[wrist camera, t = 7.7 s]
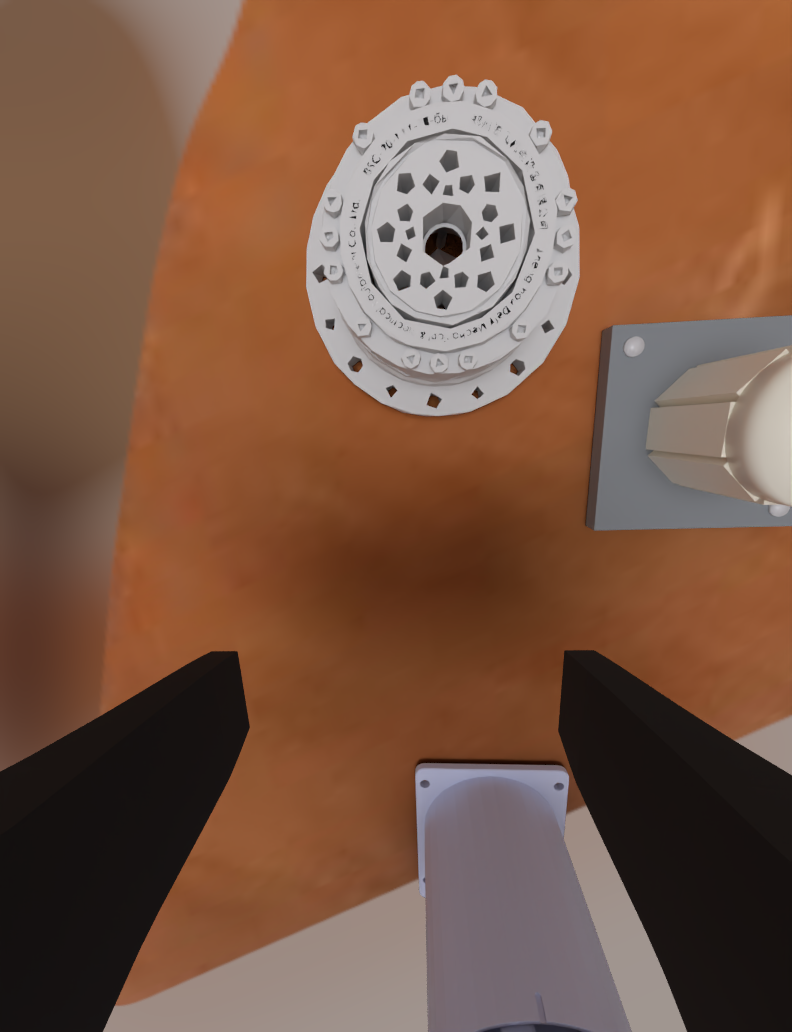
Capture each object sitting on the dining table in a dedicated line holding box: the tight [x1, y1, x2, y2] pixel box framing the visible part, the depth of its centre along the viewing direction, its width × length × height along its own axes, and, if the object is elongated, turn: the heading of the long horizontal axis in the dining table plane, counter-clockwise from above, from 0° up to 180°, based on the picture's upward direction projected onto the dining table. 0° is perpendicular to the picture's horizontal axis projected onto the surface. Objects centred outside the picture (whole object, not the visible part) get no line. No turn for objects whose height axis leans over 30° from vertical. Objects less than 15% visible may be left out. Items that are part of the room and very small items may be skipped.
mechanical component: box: [306, 75, 579, 416], centre depth 13 cm, size 10×4×10 cm
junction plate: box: [586, 316, 792, 530], centre depth 13 cm, size 8×8×4 cm
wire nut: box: [646, 345, 792, 507], centre depth 12 cm, size 5×5×5 cm
